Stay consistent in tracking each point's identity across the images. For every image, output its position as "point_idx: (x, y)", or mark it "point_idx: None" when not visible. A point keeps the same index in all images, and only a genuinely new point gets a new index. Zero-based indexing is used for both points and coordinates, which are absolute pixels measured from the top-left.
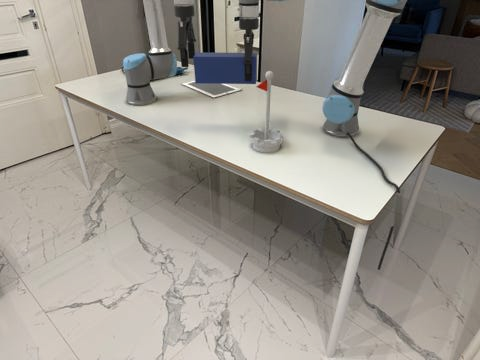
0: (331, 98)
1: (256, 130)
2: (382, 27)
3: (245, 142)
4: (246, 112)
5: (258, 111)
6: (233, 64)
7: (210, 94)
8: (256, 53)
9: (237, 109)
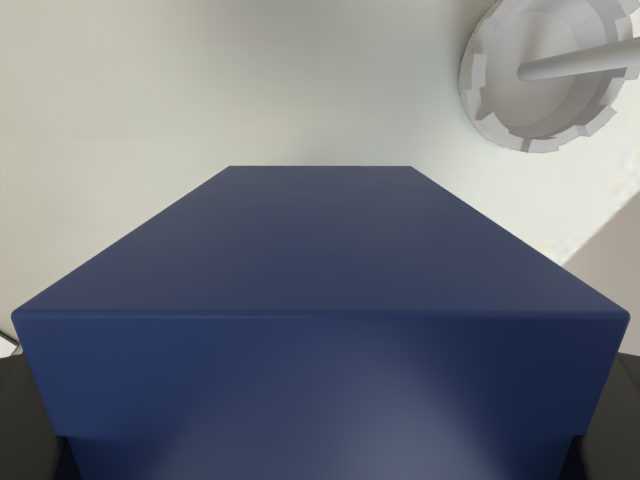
0: None
1: (500, 123)
2: None
3: (472, 168)
4: (148, 186)
5: (118, 125)
6: None
7: None
8: (117, 328)
9: (121, 230)
